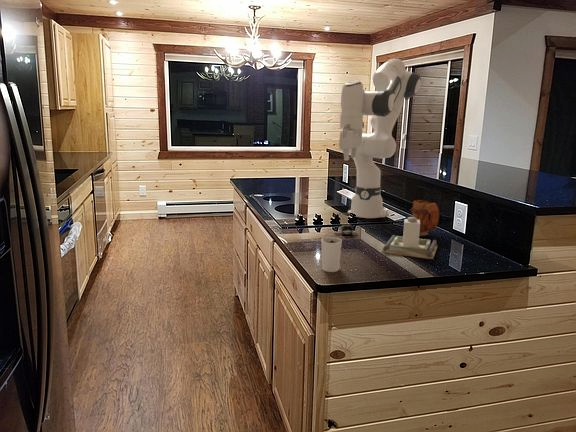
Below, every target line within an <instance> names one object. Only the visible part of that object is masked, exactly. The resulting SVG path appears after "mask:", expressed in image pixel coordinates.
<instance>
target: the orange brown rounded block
mask: <svg viewBox="0 0 576 432" xmlns="http://www.w3.org/2000/svg"><path fill="white" fill-rule="evenodd" d="M409 211H410V212H411V217H416V218H417V220H420V232H419V237H425V236H428V235H429V231H431V230H434V229H435V228H436V227H437V226H438V224H439V220H440V210H439V207H438V205H437V203H436V202H429V201H428V200H423V199H416V200H413V204H412V207H410V209H409ZM429 218H430V219H429Z"/></svg>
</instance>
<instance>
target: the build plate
mask: <svg viewBox="0 0 576 432" xmlns="http://www.w3.org/2000/svg"><path fill="white" fill-rule="evenodd" d="M353 231H354V228H353V225H351V224H341V226H340V232H334V233H333V234H334V235H335V237H336V236H350V237H359V236H360V235H359V234H358V233H357V232H353Z"/></svg>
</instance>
